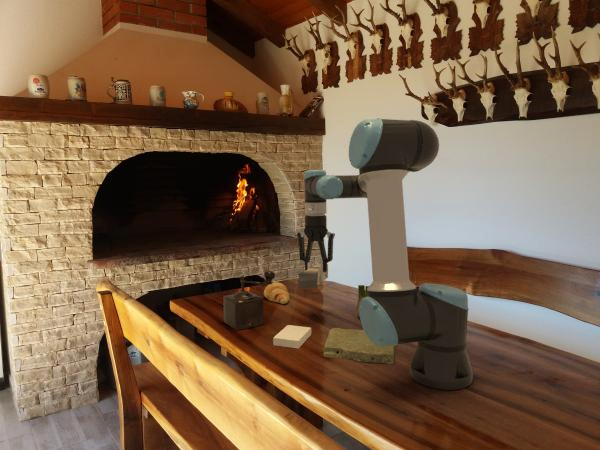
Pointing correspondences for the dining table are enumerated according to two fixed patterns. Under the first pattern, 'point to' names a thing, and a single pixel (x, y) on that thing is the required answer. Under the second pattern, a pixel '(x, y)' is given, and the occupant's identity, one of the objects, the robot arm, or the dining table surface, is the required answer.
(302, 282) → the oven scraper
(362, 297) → the fennel bulb
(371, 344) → the decorative tile
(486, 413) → the dining table surface
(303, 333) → the cream flat block
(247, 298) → the dark brown crank device
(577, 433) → the dining table surface
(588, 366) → the dining table surface
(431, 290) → the robot arm
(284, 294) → the croissant
